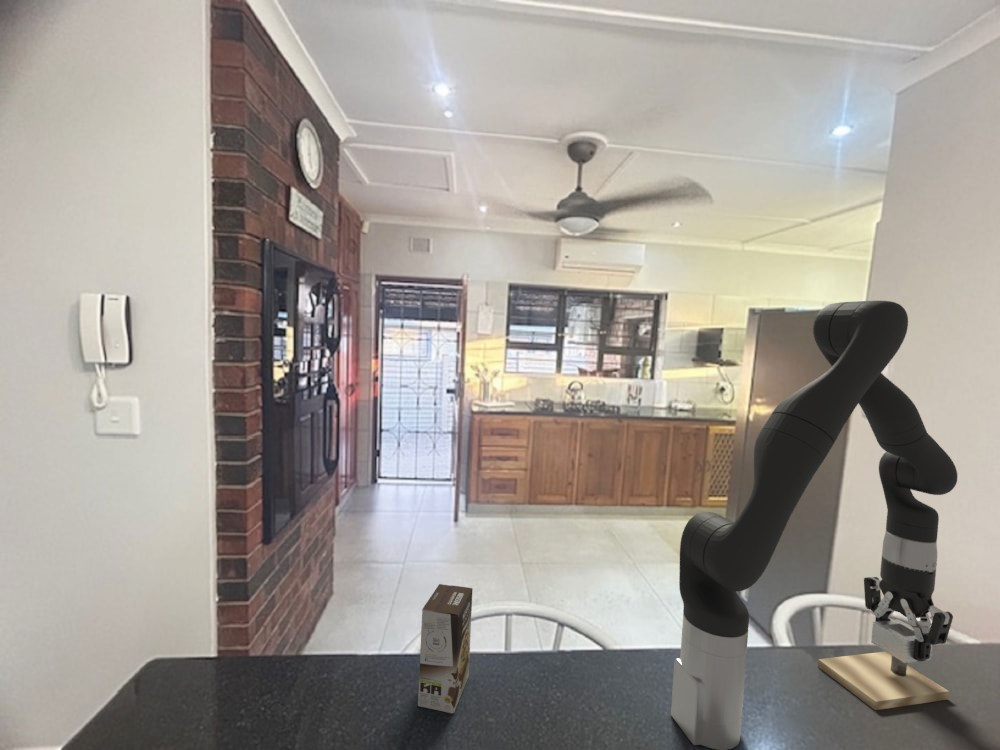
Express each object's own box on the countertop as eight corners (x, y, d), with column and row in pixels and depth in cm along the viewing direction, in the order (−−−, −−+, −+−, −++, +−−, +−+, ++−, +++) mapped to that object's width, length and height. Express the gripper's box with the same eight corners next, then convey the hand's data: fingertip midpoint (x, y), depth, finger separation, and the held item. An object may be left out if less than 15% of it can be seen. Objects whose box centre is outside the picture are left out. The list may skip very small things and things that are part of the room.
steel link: (904, 663, 83) (906, 641, 83) (871, 642, 89) (873, 621, 88) (931, 659, 84) (933, 638, 84) (896, 639, 90) (898, 619, 90)
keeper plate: (875, 710, 79) (878, 675, 78) (817, 666, 89) (820, 635, 89) (948, 699, 82) (951, 665, 82) (884, 658, 93) (887, 629, 92)
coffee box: (455, 715, 73) (459, 615, 73) (416, 707, 75) (420, 609, 74) (470, 676, 82) (474, 587, 82) (435, 669, 84) (439, 581, 83)
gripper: (854, 544, 92) (847, 627, 92) (936, 579, 78) (927, 677, 78) (884, 542, 93) (877, 624, 94) (970, 577, 79) (961, 672, 80)
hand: (900, 648), depth 86 cm, fingers closed on steel link, 6 cm apart
